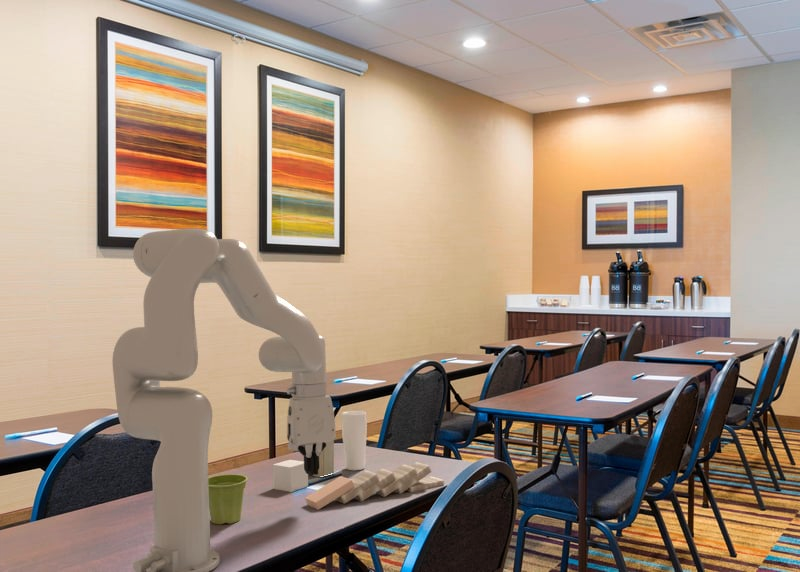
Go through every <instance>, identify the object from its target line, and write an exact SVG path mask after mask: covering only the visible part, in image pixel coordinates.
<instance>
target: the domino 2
mask: <svg viewBox="0 0 800 572" xmlns="http://www.w3.org/2000/svg"><path fill="white" fill-rule="evenodd" d="M375 473H376V472H372V471H370V470H367V469H366V470H363V471H362V472H360V473H359V474H357V475H356V476H354V477H353V478H350V480H352V482H353V484H354V488H352V489H351V490H349V491H347V492H346V493H344V494H343V495H341V496H339V497H338V498H336V499H335V501H337V502H339V503H341V504H343V505H345V504H347V503H348V502H350V501H351V500H353V499H354V497H356V496H357V495H359V494H360V493H362V492H363V491H365V490H366V489H368V488H369V487H371V486H372V485H374V484H375V483H377V482H379V478H378V476H377V474H375Z"/></svg>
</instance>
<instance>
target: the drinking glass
mask: <svg viewBox="0 0 800 572" xmlns="http://www.w3.org/2000/svg"><path fill="white" fill-rule="evenodd" d="M340 416H341V418H340V419H341V421H340V422H341V435H342V445H343V454H344V466H345V470H349V471H361V470H364V469H365V468H366V452H367V451H366V449H367V433H368V432H367V431H368V430H367V429H368V428H367V427H368V423H367V421H368V420H367V419H368V418H367V412H366V411H364V410H348V411H343V412H341V414H340Z"/></svg>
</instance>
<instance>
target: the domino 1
mask: <svg viewBox="0 0 800 572" xmlns="http://www.w3.org/2000/svg"><path fill="white" fill-rule="evenodd" d="M352 488H354V484H353V482H352V480H351V478H347V477H344V476H343V475H340V476H338V477H336V478H335V479H333V480H331V481H330V482H329V483H326V485H323V486H322V487H320V488H319V489H317V490H316V491H313V492H312V493H311V494H308V495H307V496H305V497H304V500H305V501H306V505H307V506H308V507H311V508H312V509H315V510H318V511H319V510H320V509H322V508H324V507H325V506H327V505H329V504H330V503H331V502H332V503H333V501H334V500H335V499H336V498H338V497H339V496H341V495H343V494H344V493H346V492H347V491H349V490H351V489H352ZM335 501H336V500H335Z"/></svg>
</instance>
